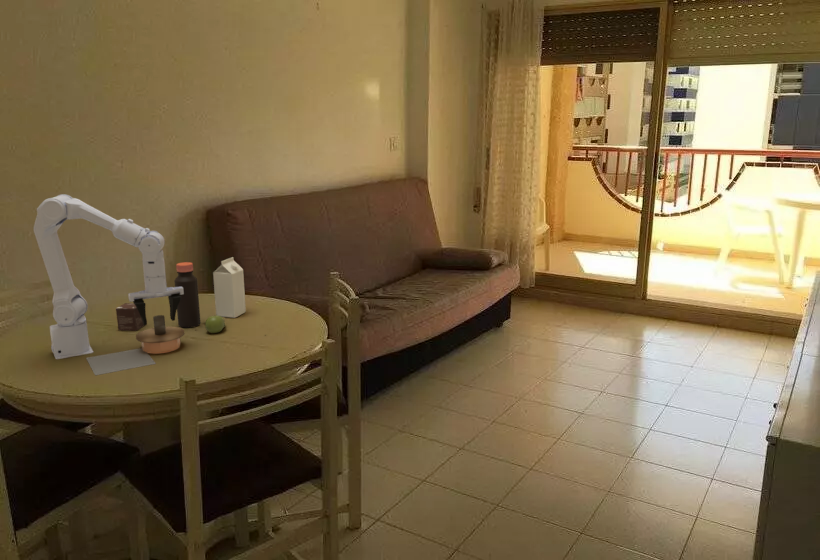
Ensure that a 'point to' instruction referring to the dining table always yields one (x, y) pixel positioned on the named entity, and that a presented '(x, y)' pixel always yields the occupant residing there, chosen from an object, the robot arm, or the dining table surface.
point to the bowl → (161, 346)
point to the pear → (215, 324)
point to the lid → (159, 332)
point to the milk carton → (229, 289)
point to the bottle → (187, 296)
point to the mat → (119, 361)
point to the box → (128, 317)
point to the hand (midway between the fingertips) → (158, 321)
